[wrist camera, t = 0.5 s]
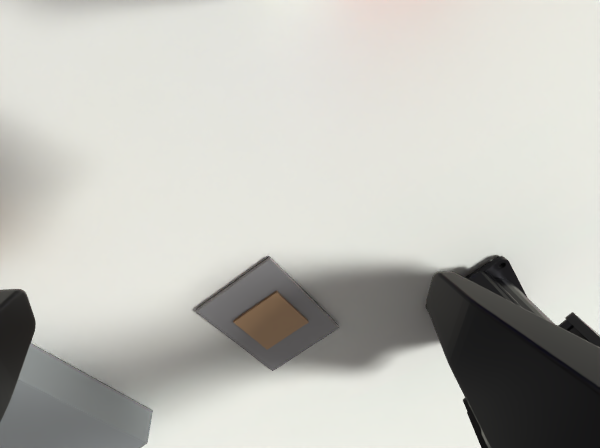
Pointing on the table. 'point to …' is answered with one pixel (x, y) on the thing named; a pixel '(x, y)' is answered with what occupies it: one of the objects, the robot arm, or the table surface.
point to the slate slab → (69, 409)
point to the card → (268, 315)
